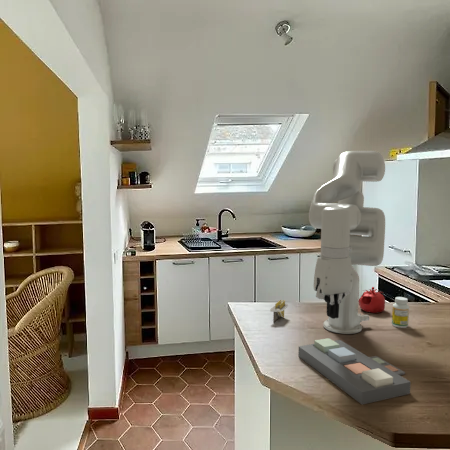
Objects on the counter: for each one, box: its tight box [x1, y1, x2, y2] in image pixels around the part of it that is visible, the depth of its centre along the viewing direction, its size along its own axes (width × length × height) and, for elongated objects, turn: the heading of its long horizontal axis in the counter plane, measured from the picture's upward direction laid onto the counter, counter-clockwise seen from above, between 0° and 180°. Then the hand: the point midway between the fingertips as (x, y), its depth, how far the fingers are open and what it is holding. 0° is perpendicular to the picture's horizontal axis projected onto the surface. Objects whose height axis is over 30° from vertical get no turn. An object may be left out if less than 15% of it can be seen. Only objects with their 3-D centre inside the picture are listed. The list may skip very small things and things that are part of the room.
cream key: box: [362, 368, 393, 388], centre depth 106 cm, size 5×5×3 cm
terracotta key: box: [344, 363, 371, 375], centre depth 113 cm, size 5×5×3 cm
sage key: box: [313, 337, 339, 353], centre depth 126 cm, size 5×5×3 cm
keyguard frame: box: [297, 339, 411, 405], centre depth 116 cm, size 14×28×3 cm, turn 21°
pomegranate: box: [358, 286, 386, 314], centre depth 168 cm, size 10×10×9 cm
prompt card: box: [369, 355, 406, 376], centre depth 120 cm, size 5×11×1 cm, turn 21°
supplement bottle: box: [391, 296, 410, 329], centre depth 152 cm, size 5×5×10 cm
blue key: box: [328, 347, 355, 363], centre depth 119 cm, size 5×5×3 cm
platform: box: [269, 299, 289, 323], centre depth 158 cm, size 12×18×7 cm, turn 154°
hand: (332, 316), depth 123 cm, fingers closed
